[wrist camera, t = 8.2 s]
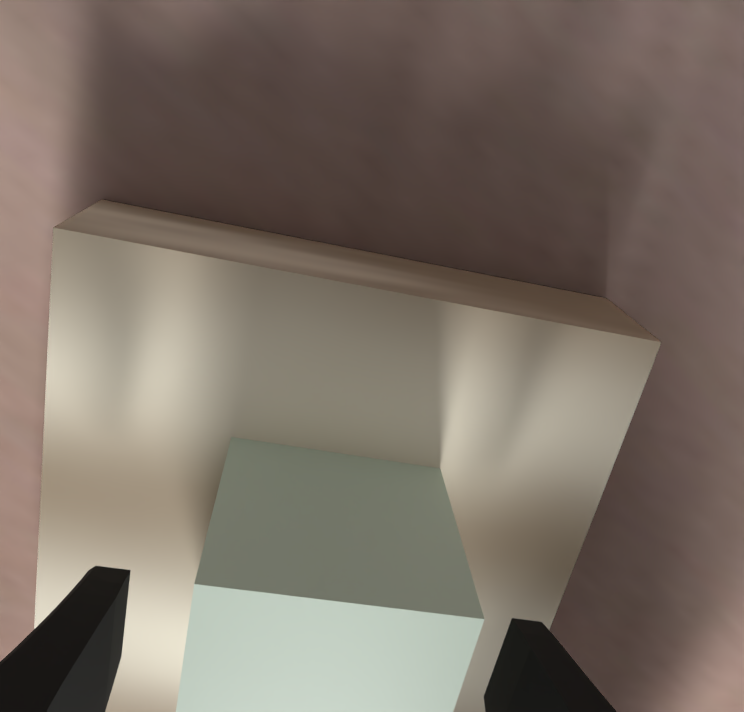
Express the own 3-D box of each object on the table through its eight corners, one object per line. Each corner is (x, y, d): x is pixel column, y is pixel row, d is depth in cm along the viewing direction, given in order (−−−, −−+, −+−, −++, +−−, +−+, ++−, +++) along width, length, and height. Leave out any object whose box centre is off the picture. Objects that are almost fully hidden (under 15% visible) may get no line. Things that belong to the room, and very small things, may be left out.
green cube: (394, 628, 17) (418, 813, 13) (205, 606, 16) (164, 792, 12) (439, 468, 15) (484, 619, 11) (231, 436, 14) (194, 584, 10)
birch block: (477, 666, 21) (500, 756, 19) (71, 620, 20) (30, 709, 17) (606, 298, 17) (661, 342, 14) (101, 199, 15) (53, 227, 13)
